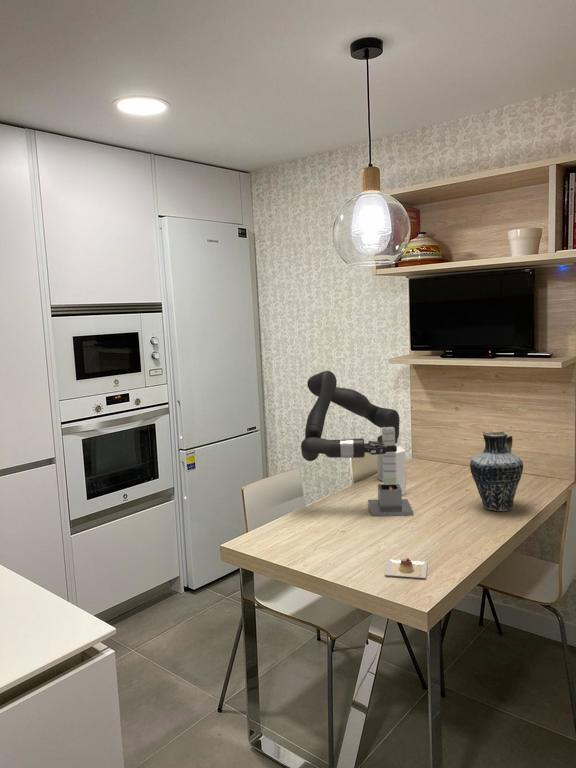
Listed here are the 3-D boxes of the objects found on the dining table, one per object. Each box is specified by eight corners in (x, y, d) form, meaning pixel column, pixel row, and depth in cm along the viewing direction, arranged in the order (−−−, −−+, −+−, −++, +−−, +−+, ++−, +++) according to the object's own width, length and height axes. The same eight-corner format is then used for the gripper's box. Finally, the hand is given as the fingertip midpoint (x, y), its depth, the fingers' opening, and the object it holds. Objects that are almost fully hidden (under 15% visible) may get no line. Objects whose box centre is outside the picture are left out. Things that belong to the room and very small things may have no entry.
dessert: (427, 564, 189) (427, 549, 189) (425, 581, 178) (425, 565, 177) (388, 562, 192) (388, 547, 192) (384, 578, 181) (384, 562, 180)
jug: (511, 519, 225) (512, 439, 221) (461, 510, 237) (461, 434, 234) (531, 505, 240) (531, 430, 237) (483, 496, 253) (483, 425, 249)
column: (382, 481, 243) (381, 427, 240) (394, 481, 243) (393, 426, 240) (383, 484, 238) (382, 429, 236) (396, 484, 238) (395, 429, 235)
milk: (406, 493, 261) (405, 443, 258) (397, 497, 257) (397, 445, 254) (394, 491, 266) (394, 441, 263) (386, 494, 261) (385, 443, 259)
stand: (367, 503, 250) (367, 479, 249) (407, 502, 249) (407, 478, 248) (371, 516, 234) (370, 490, 233) (413, 515, 233) (412, 490, 232)
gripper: (352, 442, 232) (398, 441, 231) (350, 435, 246) (393, 434, 245) (353, 462, 233) (398, 461, 232) (351, 453, 247) (393, 452, 246)
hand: (395, 447), depth 239 cm, fingers closed on column, 4 cm apart
